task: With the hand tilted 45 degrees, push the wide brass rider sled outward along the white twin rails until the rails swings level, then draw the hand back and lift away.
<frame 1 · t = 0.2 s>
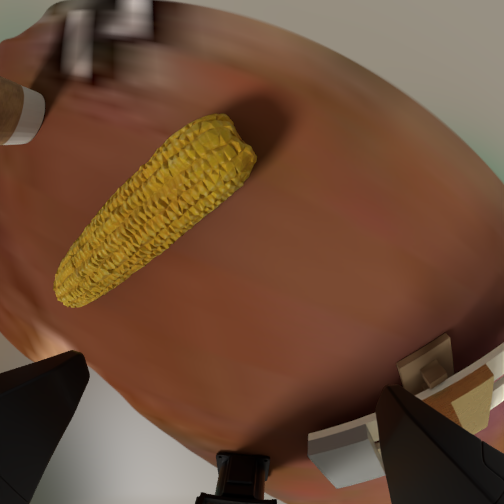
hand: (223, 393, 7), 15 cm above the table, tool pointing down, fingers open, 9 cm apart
beam stand: (430, 394, 23), on the table
white twin rails: (460, 411, 19), point 5 cm above the table, hinge at -6.2°, touching brass rider
food: (148, 224, 22), on the table
coffee cup: (30, 118, 20), on the table
brass rider: (454, 410, 19), point 4 cm above the table, tilted 6°, touching white twin rails
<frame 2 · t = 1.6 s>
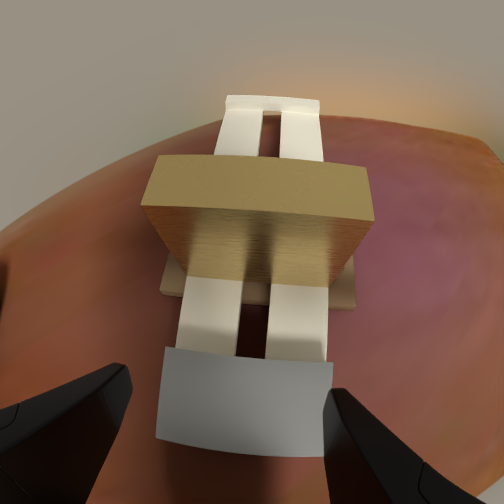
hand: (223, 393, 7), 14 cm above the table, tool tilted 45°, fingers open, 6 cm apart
beam stand: (259, 271, 24), on the table
white twin rails: (262, 221, 21), point 5 cm above the table, hinge at -6.2°, touching brass rider
brass rider: (261, 231, 21), point 4 cm above the table, tilted 6°, touching white twin rails
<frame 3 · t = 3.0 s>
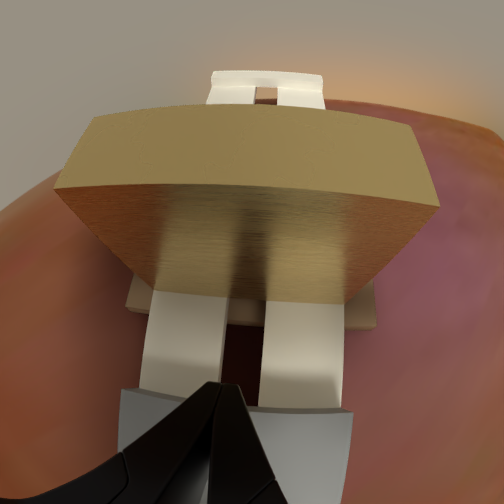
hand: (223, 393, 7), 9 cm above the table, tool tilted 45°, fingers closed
beam stand: (252, 282, 18), on the table
white twin rails: (253, 216, 15), point 5 cm above the table, hinge at -6.2°, touching brass rider
brass rider: (253, 229, 16), point 4 cm above the table, tilted 6°, touching white twin rails
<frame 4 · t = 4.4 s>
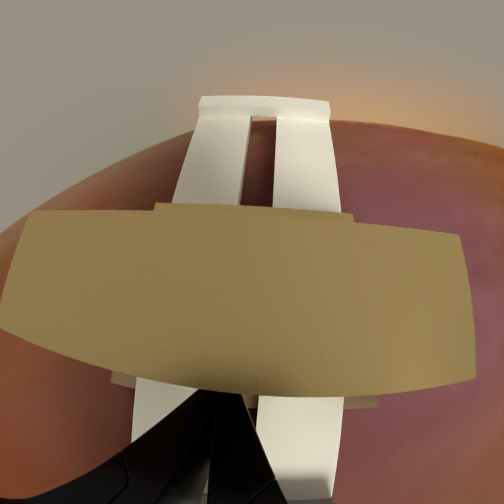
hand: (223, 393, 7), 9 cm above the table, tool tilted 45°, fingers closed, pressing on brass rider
beam stand: (245, 359, 16), on the table
white twin rails: (244, 305, 13), point 5 cm above the table, hinge at -6.0°
brass rider: (246, 298, 14), point 4 cm above the table, tilted 6°, touching gripper
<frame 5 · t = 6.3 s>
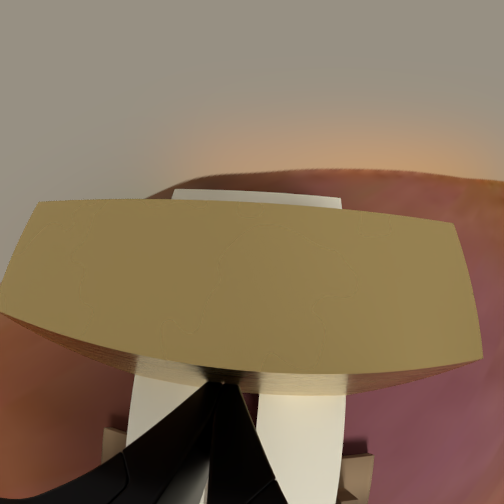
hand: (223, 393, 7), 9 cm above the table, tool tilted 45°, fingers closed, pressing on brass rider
beam stand: (231, 496, 11), on the table
white twin rails: (226, 493, 8), point 4 cm above the table, hinge at 0.2°, touching brass rider
brass rider: (245, 310, 13), point 4 cm above the table, touching white twin rails, gripper
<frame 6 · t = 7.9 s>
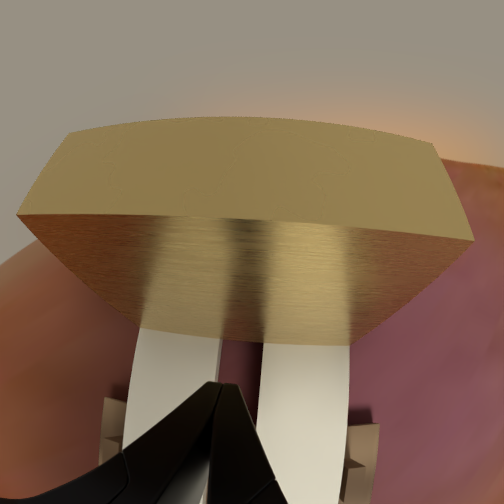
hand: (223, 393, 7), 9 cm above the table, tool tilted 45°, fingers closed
beam stand: (233, 469, 12), on the table
white twin rails: (229, 455, 9), point 4 cm above the table, hinge at 0.2°, touching brass rider
brass rider: (249, 263, 14), point 4 cm above the table, touching white twin rails
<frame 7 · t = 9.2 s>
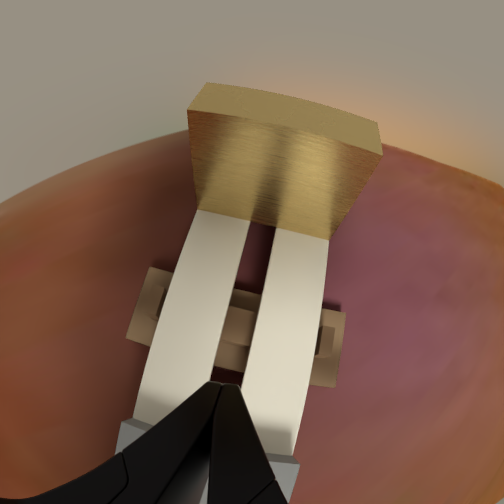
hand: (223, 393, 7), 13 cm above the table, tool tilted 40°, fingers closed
beam stand: (237, 331, 21), on the table
white twin rails: (247, 291, 17), point 4 cm above the table, hinge at 0.2°, touching brass rider
brass rider: (273, 183, 22), point 4 cm above the table, touching white twin rails
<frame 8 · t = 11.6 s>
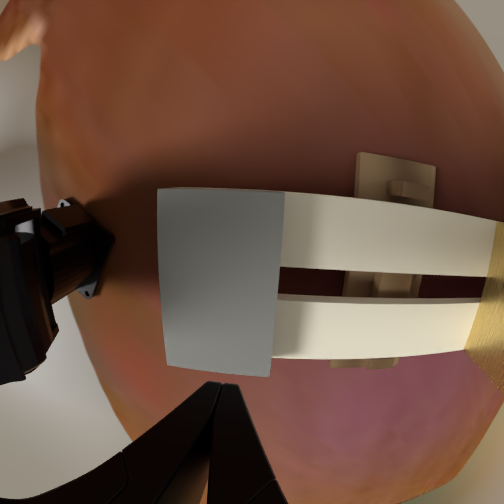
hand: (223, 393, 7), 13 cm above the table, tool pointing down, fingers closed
beam stand: (383, 269, 19), on the table
white twin rails: (433, 292, 14), point 4 cm above the table, hinge at 0.2°, touching brass rider
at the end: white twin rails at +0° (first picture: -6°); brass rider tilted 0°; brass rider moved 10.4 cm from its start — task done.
